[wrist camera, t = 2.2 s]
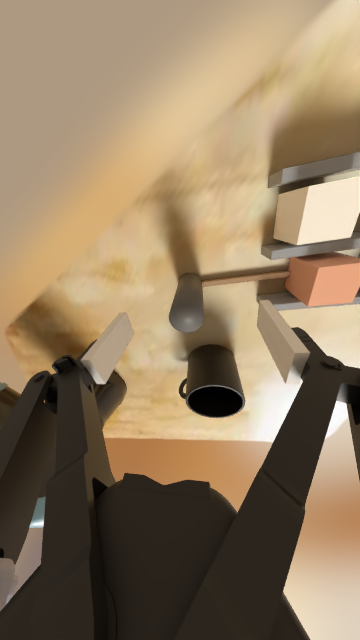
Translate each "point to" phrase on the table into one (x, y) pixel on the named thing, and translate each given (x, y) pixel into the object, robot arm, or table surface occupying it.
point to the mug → (213, 383)
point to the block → (318, 212)
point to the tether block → (302, 278)
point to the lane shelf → (290, 250)
